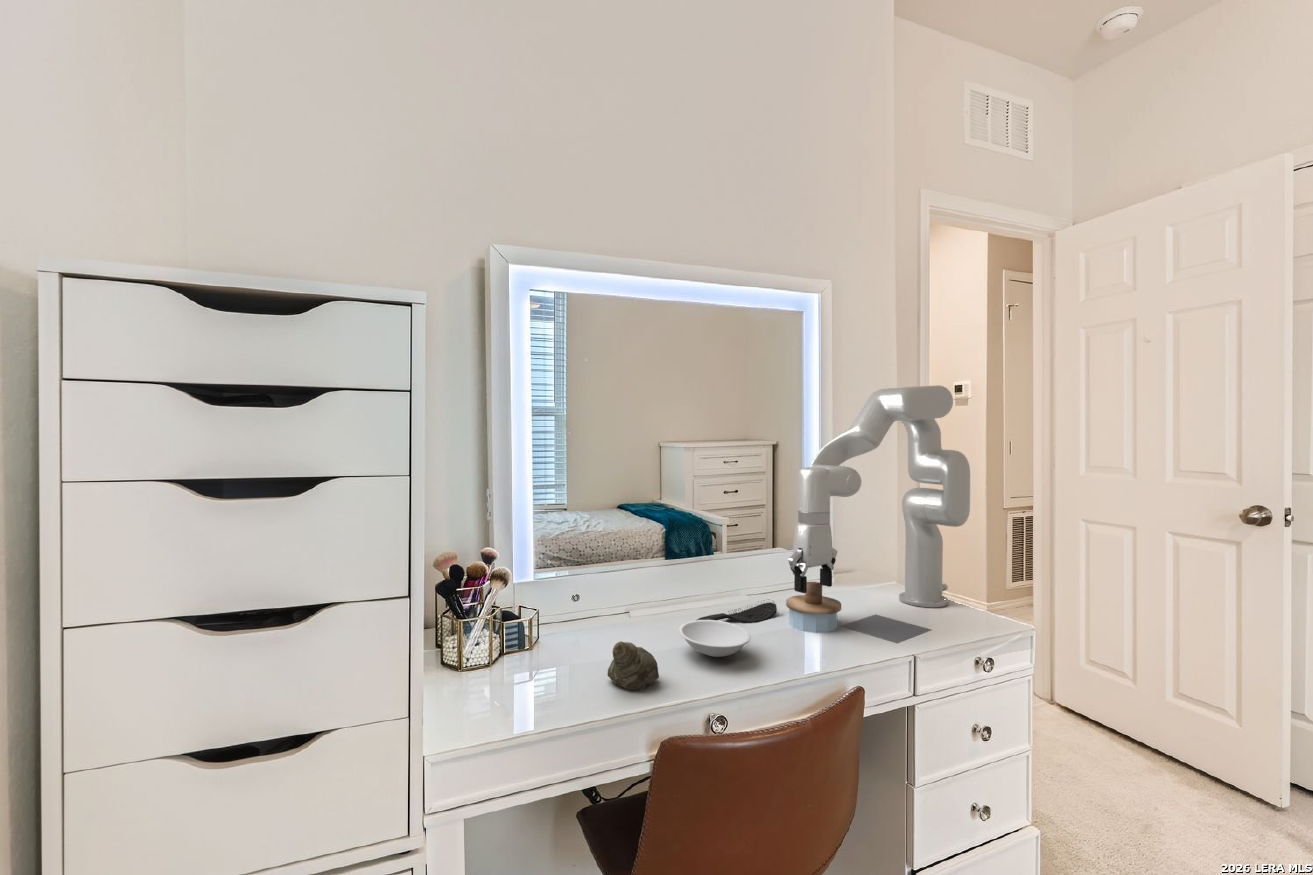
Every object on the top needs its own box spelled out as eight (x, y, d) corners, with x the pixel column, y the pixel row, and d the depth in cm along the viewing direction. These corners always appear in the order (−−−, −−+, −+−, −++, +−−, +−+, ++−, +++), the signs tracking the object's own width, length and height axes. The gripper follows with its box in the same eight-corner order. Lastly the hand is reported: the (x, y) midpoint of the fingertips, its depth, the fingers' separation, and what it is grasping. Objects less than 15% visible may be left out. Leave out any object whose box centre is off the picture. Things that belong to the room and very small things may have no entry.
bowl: (809, 616, 159) (809, 597, 159) (846, 628, 150) (846, 607, 150) (780, 625, 152) (780, 605, 152) (817, 637, 143) (817, 616, 143)
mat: (875, 616, 160) (875, 614, 160) (931, 631, 148) (931, 629, 148) (840, 627, 150) (840, 625, 150) (897, 645, 139) (897, 643, 139)
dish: (765, 665, 127) (765, 640, 127) (703, 676, 121) (703, 650, 121) (723, 637, 143) (723, 616, 143) (666, 646, 138) (666, 624, 137)
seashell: (586, 647, 120) (602, 664, 111) (634, 608, 124) (653, 622, 115) (617, 691, 123) (635, 711, 113) (662, 651, 126) (683, 668, 117)
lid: (808, 595, 160) (808, 574, 160) (852, 607, 150) (852, 584, 150) (775, 604, 152) (775, 582, 152) (819, 617, 142) (819, 594, 142)
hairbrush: (681, 612, 154) (764, 595, 165) (682, 627, 154) (765, 609, 165) (698, 622, 147) (783, 604, 158) (698, 638, 147) (784, 618, 158)
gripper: (823, 513, 159) (822, 580, 159) (778, 519, 148) (777, 591, 149) (848, 517, 153) (847, 586, 153) (803, 523, 142) (802, 598, 143)
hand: (813, 588), depth 151 cm, fingers open, 9 cm apart
